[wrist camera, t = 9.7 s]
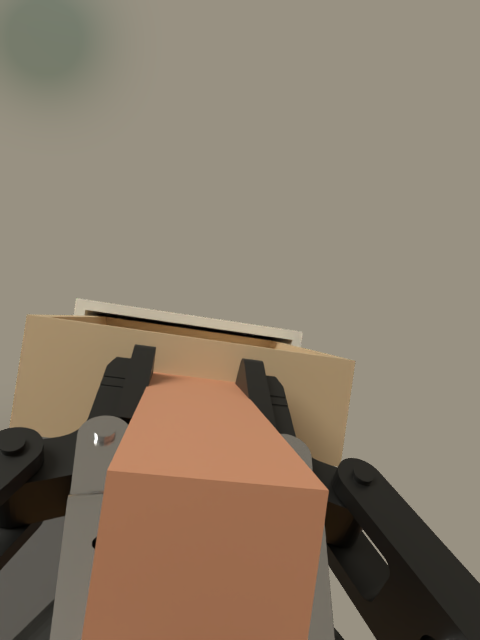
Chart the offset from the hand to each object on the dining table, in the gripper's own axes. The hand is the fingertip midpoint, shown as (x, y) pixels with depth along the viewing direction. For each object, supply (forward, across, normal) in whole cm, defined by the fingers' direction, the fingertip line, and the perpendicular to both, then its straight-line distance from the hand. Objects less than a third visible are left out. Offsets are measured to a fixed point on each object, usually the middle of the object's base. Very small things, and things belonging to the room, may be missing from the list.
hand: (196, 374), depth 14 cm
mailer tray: (+1, 0, -4) cm, 4 cm away
